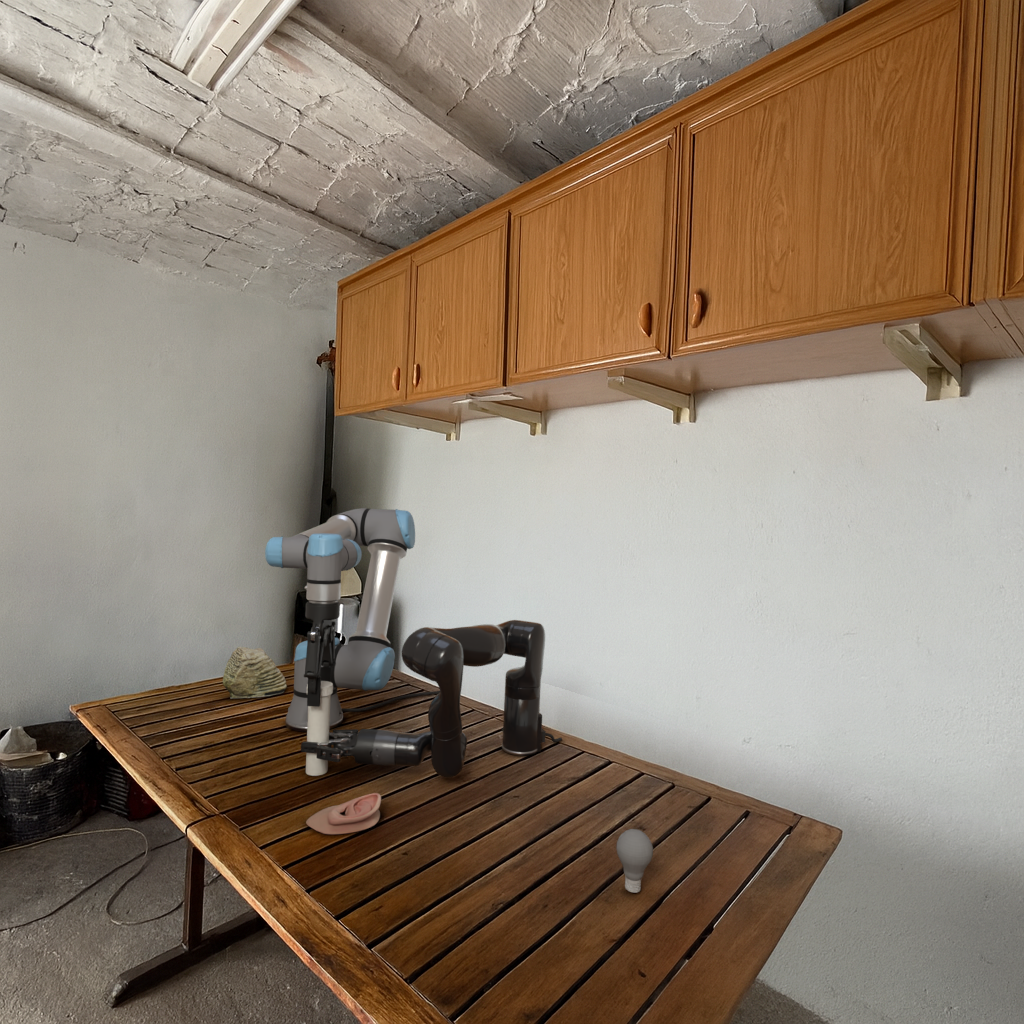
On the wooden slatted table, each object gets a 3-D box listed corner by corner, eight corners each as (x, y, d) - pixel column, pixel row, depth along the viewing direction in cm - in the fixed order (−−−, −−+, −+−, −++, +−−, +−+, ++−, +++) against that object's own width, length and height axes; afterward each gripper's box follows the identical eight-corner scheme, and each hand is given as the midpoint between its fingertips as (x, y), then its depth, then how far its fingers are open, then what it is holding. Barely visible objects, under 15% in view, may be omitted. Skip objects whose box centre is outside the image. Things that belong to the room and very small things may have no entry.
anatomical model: (298, 809, 120) (327, 783, 131) (297, 830, 120) (327, 802, 131) (363, 819, 117) (388, 791, 128) (362, 840, 117) (387, 811, 128)
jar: (303, 775, 143) (306, 689, 143) (308, 766, 148) (311, 683, 148) (325, 775, 144) (328, 689, 143) (329, 766, 149) (332, 683, 148)
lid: (303, 697, 142) (304, 687, 142) (309, 689, 148) (310, 680, 148) (330, 697, 143) (330, 688, 143) (334, 689, 149) (335, 681, 149)
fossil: (218, 695, 195) (220, 647, 195) (278, 685, 208) (279, 640, 207) (228, 703, 189) (230, 653, 188) (289, 692, 201) (290, 645, 201)
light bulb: (610, 879, 108) (613, 822, 108) (644, 879, 109) (647, 822, 109) (619, 902, 102) (622, 840, 102) (655, 901, 103) (658, 840, 103)
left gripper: (320, 593, 155) (316, 686, 156) (291, 607, 135) (286, 714, 135) (351, 595, 155) (347, 687, 156) (326, 609, 135) (321, 715, 135)
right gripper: (387, 720, 152) (318, 715, 153) (370, 742, 138) (294, 737, 139) (386, 751, 152) (317, 746, 153) (368, 777, 138) (292, 771, 139)
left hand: (319, 700), depth 145 cm, fingers open, 7 cm apart
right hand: (306, 742), depth 146 cm, fingers closed on jar, 5 cm apart
